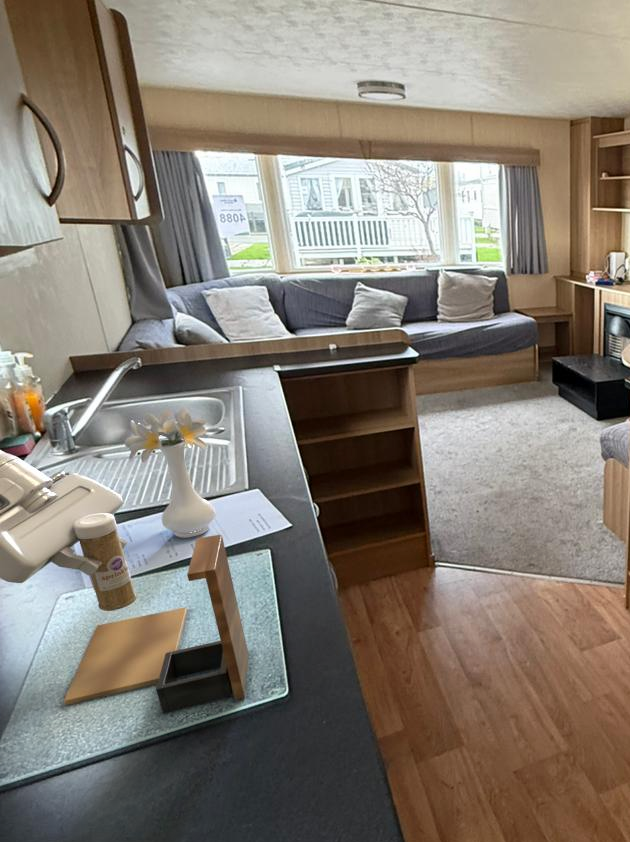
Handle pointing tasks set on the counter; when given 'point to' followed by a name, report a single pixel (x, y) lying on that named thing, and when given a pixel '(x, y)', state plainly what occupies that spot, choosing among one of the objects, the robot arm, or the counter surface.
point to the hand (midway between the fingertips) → (109, 559)
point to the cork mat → (126, 655)
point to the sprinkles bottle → (106, 560)
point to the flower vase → (175, 468)
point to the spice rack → (210, 656)
